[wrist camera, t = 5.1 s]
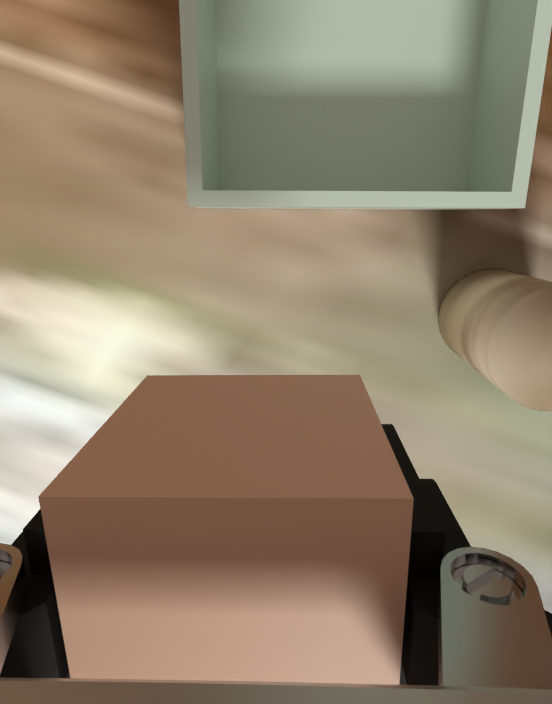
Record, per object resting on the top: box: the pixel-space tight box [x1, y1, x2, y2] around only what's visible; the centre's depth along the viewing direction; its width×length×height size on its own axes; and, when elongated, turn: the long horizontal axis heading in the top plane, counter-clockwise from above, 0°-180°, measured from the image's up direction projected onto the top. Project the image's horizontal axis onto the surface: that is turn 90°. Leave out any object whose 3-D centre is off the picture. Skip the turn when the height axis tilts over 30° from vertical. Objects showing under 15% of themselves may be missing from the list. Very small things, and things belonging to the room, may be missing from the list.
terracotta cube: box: [39, 375, 414, 685], centre depth 9 cm, size 5×5×5 cm
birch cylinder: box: [439, 269, 552, 411], centre depth 22 cm, size 5×5×7 cm
